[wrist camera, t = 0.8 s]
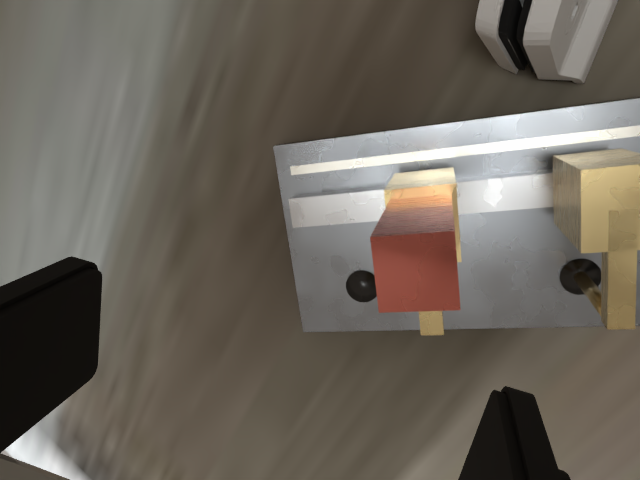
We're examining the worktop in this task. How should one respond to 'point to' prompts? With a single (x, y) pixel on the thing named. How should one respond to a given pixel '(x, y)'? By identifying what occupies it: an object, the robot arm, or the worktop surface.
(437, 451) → the worktop surface
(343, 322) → the gauge plate
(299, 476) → the worktop surface
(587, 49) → the grey stapler
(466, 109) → the worktop surface
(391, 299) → the block
